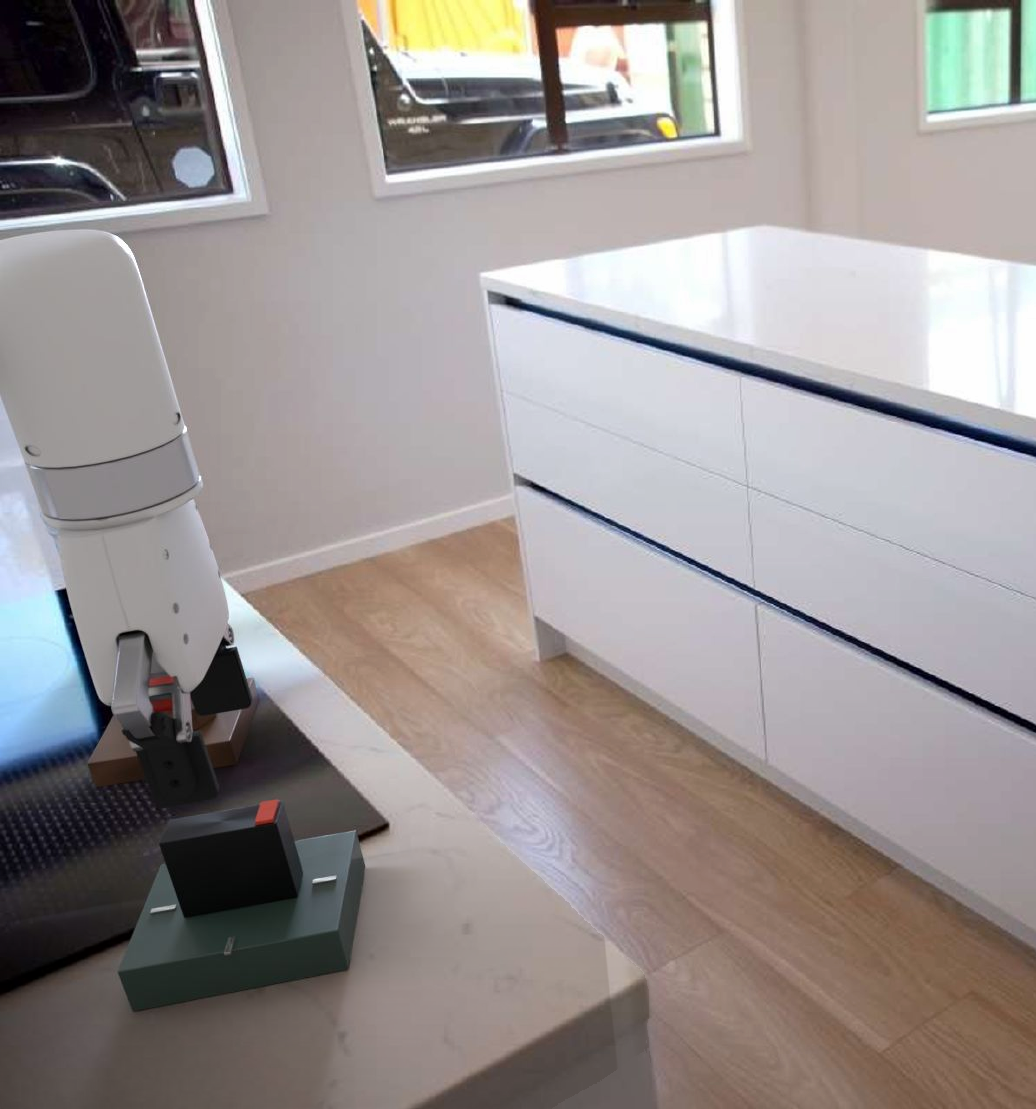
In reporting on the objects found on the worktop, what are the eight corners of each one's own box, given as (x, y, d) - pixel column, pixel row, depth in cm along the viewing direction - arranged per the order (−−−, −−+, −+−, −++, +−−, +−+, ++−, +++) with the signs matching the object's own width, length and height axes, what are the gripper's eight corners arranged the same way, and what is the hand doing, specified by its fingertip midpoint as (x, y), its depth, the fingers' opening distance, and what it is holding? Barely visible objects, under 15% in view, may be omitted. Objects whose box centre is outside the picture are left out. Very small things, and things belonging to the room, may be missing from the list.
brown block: (95, 788, 94) (79, 742, 93) (131, 719, 103) (116, 677, 102) (237, 764, 96) (223, 720, 94) (260, 699, 105) (248, 657, 103)
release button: (138, 717, 96) (132, 698, 96) (150, 694, 99) (144, 675, 99) (189, 710, 97) (183, 690, 96) (199, 687, 100) (193, 668, 99)
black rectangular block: (183, 918, 75) (157, 840, 73) (192, 892, 78) (167, 816, 75) (297, 897, 77) (275, 819, 74) (303, 872, 79) (282, 796, 76)
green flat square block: (130, 1016, 72) (114, 974, 71) (174, 897, 82) (161, 858, 81) (348, 973, 75) (336, 932, 73) (366, 863, 84) (356, 824, 83)
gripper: (90, 435, 73) (175, 690, 80) (-25, 553, 57) (94, 856, 64) (227, 417, 74) (299, 670, 81) (152, 528, 59) (248, 828, 66)
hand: (208, 752), depth 73 cm, fingers open, 9 cm apart
